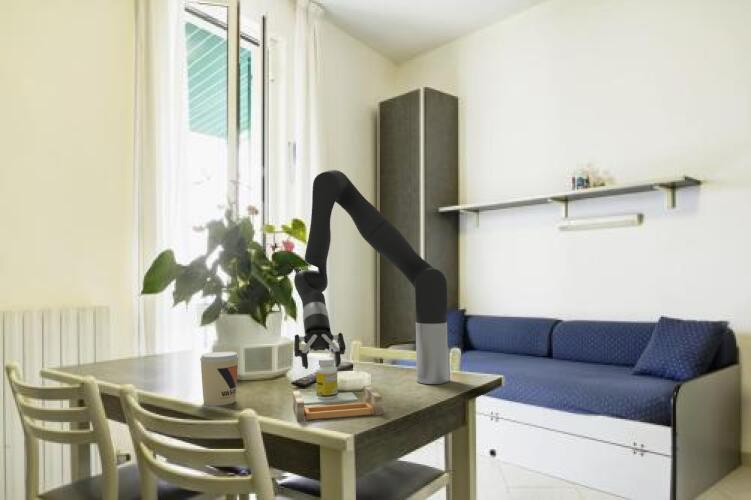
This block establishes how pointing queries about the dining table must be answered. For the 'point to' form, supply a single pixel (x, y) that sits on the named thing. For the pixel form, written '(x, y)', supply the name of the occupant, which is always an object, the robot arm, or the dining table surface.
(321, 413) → the orange rectangular tray
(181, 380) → the dining table surface
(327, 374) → the supplement bottle
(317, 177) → the robot arm
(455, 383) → the dining table surface
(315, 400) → the mat
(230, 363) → the coffee cup
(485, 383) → the dining table surface
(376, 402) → the tunnel walls
